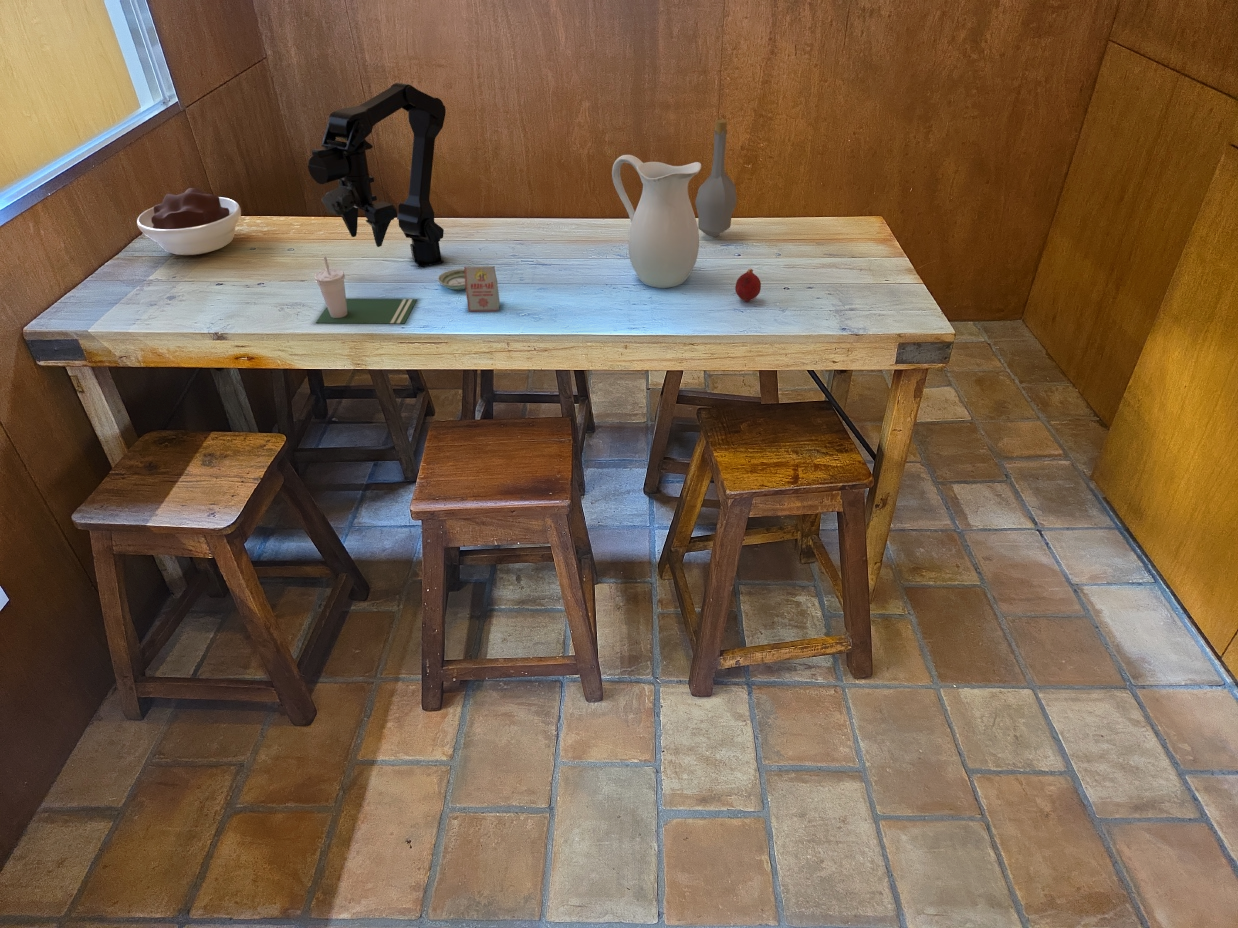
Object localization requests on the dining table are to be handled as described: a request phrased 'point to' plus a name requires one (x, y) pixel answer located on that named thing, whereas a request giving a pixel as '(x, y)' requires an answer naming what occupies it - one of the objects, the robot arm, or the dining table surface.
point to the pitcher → (661, 222)
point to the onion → (748, 286)
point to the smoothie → (333, 290)
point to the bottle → (716, 190)
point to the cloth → (373, 311)
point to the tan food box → (481, 288)
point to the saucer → (453, 279)
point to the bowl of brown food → (191, 222)
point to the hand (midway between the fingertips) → (366, 241)
